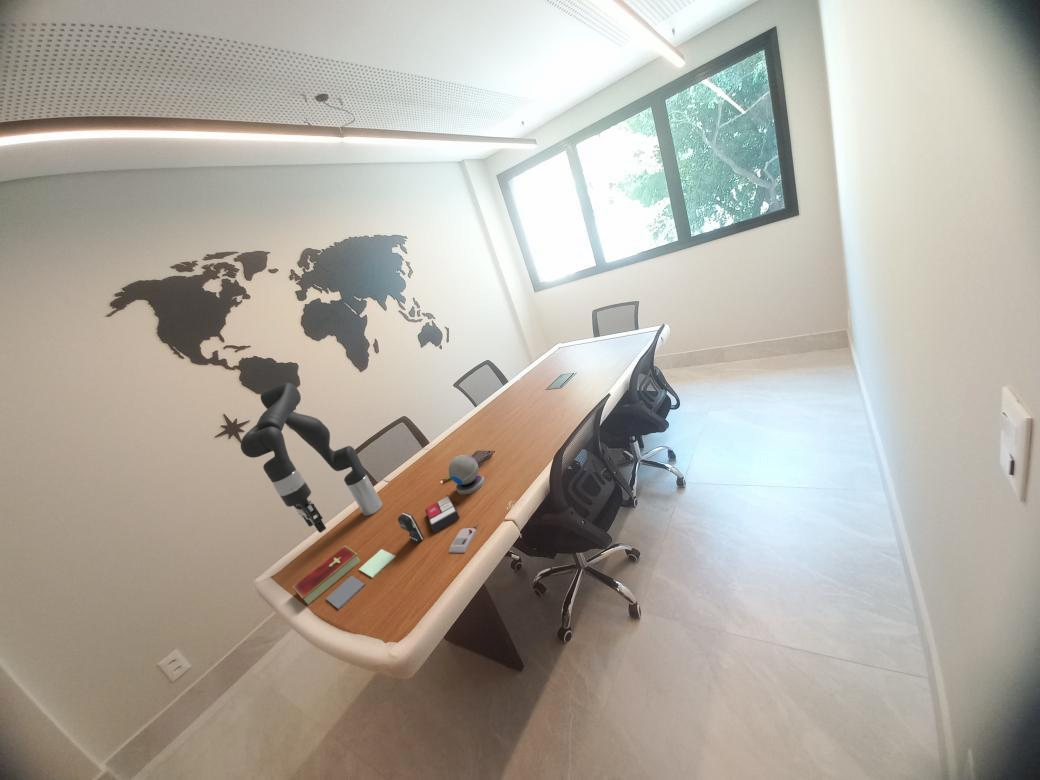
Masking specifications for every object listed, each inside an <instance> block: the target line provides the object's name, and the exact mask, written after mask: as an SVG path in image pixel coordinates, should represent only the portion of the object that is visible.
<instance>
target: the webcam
mask: <svg viewBox="0 0 1040 780" xmlns="http://www.w3.org/2000/svg"><path fill="white" fill-rule="evenodd" d="M479 470H480V468H479V465H478V462H477V460H476V459H475V457H473V456H471V455H469V454H465V453H464V454H459V455H457V456H455V457H454V458H452V460H451V462H450V463H449V465H448V475H449V477H450V479H451V480H452V481H453V482H454V484H456V487H455V489H456V492H457V494H458V495H464V496H465V495H468V494H469V495H470V494H472V493H474V492H476V491H478V490H479V489H480V488H481V487H482V486H483V485H484V483H485V478H484V476H481V475H478V474H479Z"/></svg>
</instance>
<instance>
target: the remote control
mask: <svg viewBox="0 0 1040 780" xmlns="http://www.w3.org/2000/svg"><path fill="white" fill-rule="evenodd" d="M478 524H479V522H478V521H477V522H476V524H475V525H474V526H473V527H469V526H466V527H465V528H461V529H460V530H459V531H458V533H457V534H456V536H455V537H454V538H455V539H454V540H453V541H452V542H451V545H450V546H449V550H448V553H449V554H466V552H467V550H468V548H469V547H470V545H471V543H472V542H473V539H474V537H475V536H476V534H477V533H478V531H477V527H478Z"/></svg>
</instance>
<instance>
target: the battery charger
mask: <svg viewBox="0 0 1040 780" xmlns="http://www.w3.org/2000/svg"><path fill="white" fill-rule="evenodd" d="M397 522H398V524H399V526H400V528H401V529H402V530H404V531H407V532H408V533H409V540H410V541H412V542H414V543H416V544H419V543H420V542H422V541H423V540H424V539H425V537H424V536H423V533H422V531H421V529H420V527H419V525H418V523H417V521H416V520H415V518H414V516H413V515H412V514H410V513H408V512H402V513H401V514H400V516H398V517H397Z"/></svg>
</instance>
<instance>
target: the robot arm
mask: <svg viewBox="0 0 1040 780" xmlns="http://www.w3.org/2000/svg"><path fill="white" fill-rule="evenodd" d="M301 400H302V396H301V393H300V391H299V389H298V388H297V387H296V385H295V384H293V383H291V382H284V383H281V384H278V385H276V386H274V387H271V388H269V389H266V390H265V391H263V392H262V393H261V394H260V401H261V403H262V405H263V406H264V407H265V409H266V410H265V411H264V412H263V413H262V415H260V417H259V419H258V421H257V422H256V424H255V425H254V426H253V427H252V428H250V429H249V431H247V432H246V433H245V434H244V436H242V438H241V441H240V449H241V452H242V453H243V455H245V456H246V457H248V458H253V459H255V458H259V457H261V456H264V455H266V454H268V453H271V452H273V453H274V456H273V457H272V458H270V459H269V460H267V461H266V462H265V463H264V464H263V470H264V472H265V474H266V476H267V478H268V479H269V480H270V481H271V483H272V485H273V487H274V489H275V491H276V493H277V494H278V496H279V497H280V499H282V501H283V503H284V504H285V506H286V507H290V508H291V507H294V509H295V510H296V512H297V514H298V515H299V516H300V518H302V519H303V520H304V521H305V523H306V524H307V526H308V527H310V528H311V527H312V526H314V527H315V529H316V531H317V532H318V533H323V532H324V531H326V529H327V527H326V525H325V524H324V522H323V516H322V515H321V514H320V511H319V510H318V509H317V507H316V506H315V504H314V503H313V502H312V501H311V500H309V499H308V498H309V497H310V495H311V494H312V491H311V489H310V487H309V486H308V483H307V482H306V481H305V479H304V477H303V476H302V474H301V473H300V472H299V471H298V469H297V468H296V466H295V465H294V463H293V461H292V460H291V459H290V456H289V454H288V450H287V446H286V443H285V438H284V437H285V436H284V434H283V433H282V431H283V429H284V426H285V424H286V426H288V427H290V428H291V429H292V430H293V431H294V432H295V433H296V434H297V435H298V436H299V437H300V438H301V439H302V440H303V442H304V441H305V443H307V444H308V445H309V446H310V447H311V448H313V449H314V450H315V451H316V452H317V453H318V454H319V455H320V456H321V457H322V459H323V460H324V461H325V462H326V463H327V465H329V467H330V468H332V470H333V471H335V472H341V471H345V470H346V469H349V468H351V470H350V472H349V473H347V474H346V476H345V477H344V479H343V481H344V483H345V484H346V487H347V489H348V490H349V491H350V493H351V495H352V497H353V498H354V501H356V505H358V507H359V510H360V511H361V513H362V514H363V516H365V517H366V516H371V515H373V514H376V513H377V512H378V511H379V510H380V509H381V508H382V507H383V502H382V500H381V498H380V497H379V495H378V493H377V491H376V489H375V488H374V486H373V483H372V482H371V480H370V479H369V476H368V475H367V473H366V471H365V469H364V466H363V464H362V462H361V460H360V458H359V455H358V454H357V452H356V451H357V450H355V448H354V447H353V446H350V445H347V446H345V447H341V448H339V449H337V450H333V449H332V448H331V447H330V444H331V442H330V441H331V433H330V429H328V427H327V426H326V425H325V424H324V423H323V421H321V420H320V419H318V418H317V417H314V416H310V415H306V414H303V413H298V412H296V411H294V410H295V409H296V407H298V405H300V403H301ZM314 516H316V517H315V518H314Z"/></svg>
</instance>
